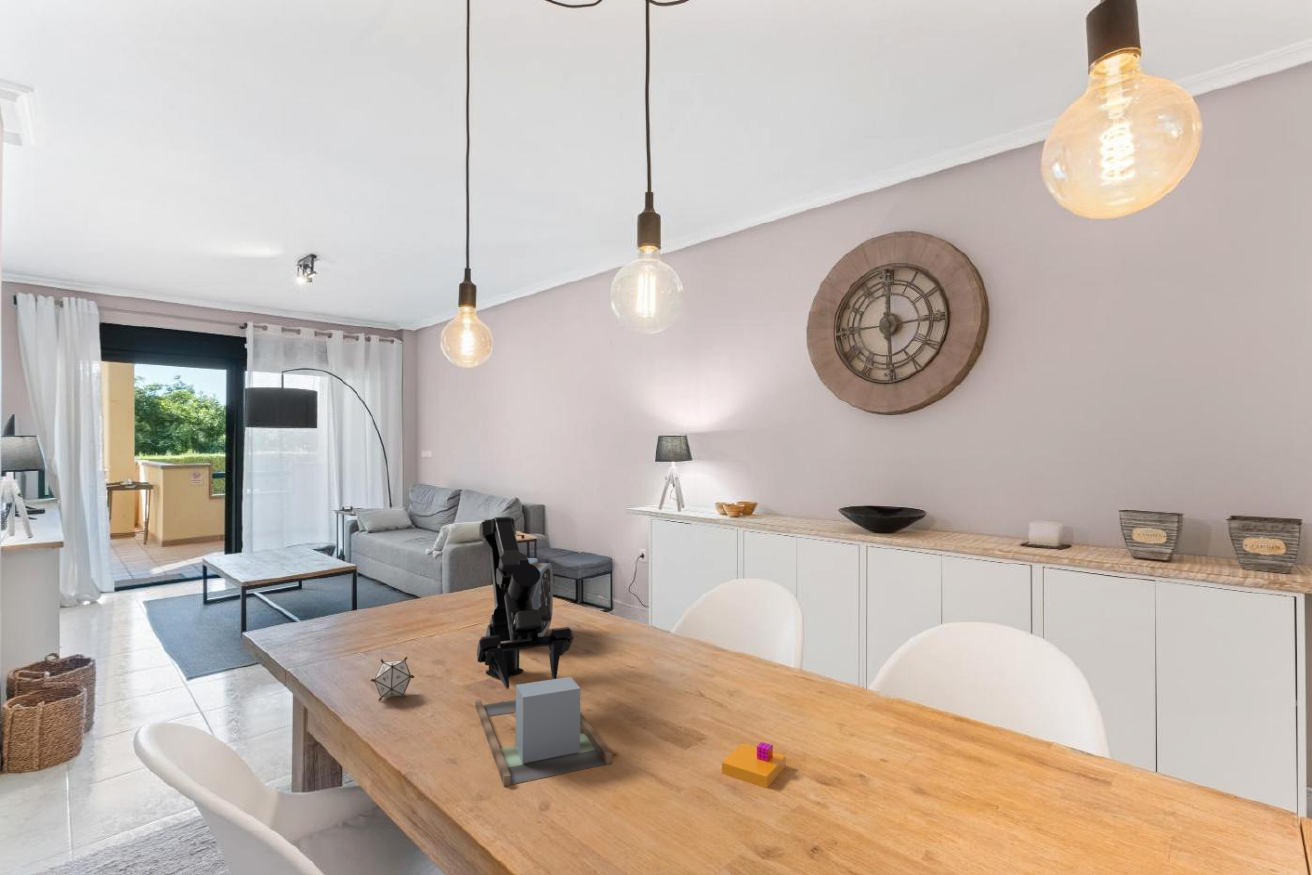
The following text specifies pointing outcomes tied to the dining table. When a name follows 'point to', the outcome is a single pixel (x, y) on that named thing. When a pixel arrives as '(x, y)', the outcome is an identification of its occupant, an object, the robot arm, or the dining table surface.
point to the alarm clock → (543, 590)
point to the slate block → (547, 719)
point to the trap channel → (519, 772)
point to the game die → (392, 678)
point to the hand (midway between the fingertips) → (531, 684)
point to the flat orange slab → (754, 764)
